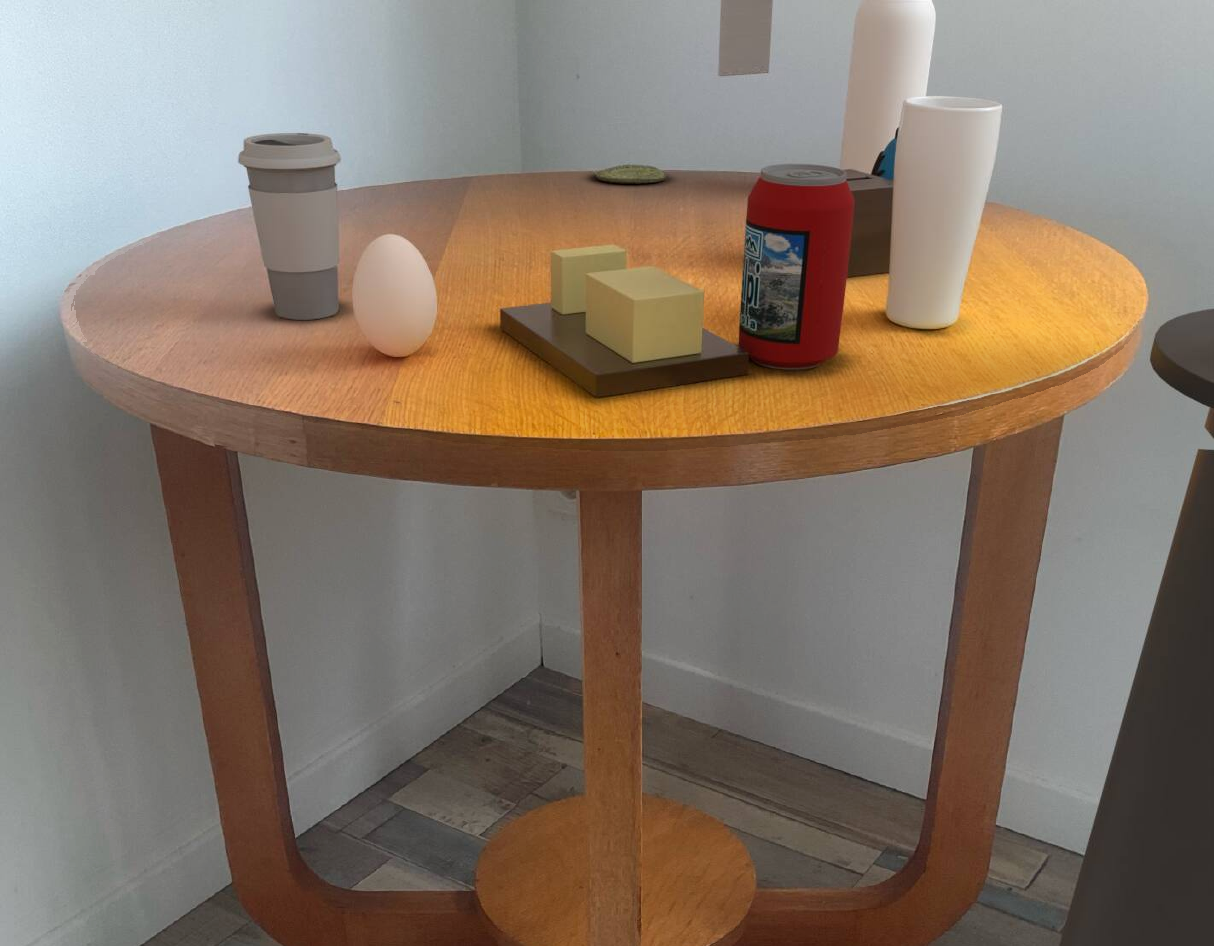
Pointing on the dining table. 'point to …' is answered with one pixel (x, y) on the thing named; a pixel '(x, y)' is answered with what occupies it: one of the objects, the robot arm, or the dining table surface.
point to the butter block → (644, 313)
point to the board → (614, 354)
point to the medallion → (631, 174)
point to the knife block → (870, 223)
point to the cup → (296, 219)
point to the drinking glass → (938, 204)
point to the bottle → (884, 74)
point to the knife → (744, 37)
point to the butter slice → (580, 274)
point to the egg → (394, 296)
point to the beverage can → (795, 265)
